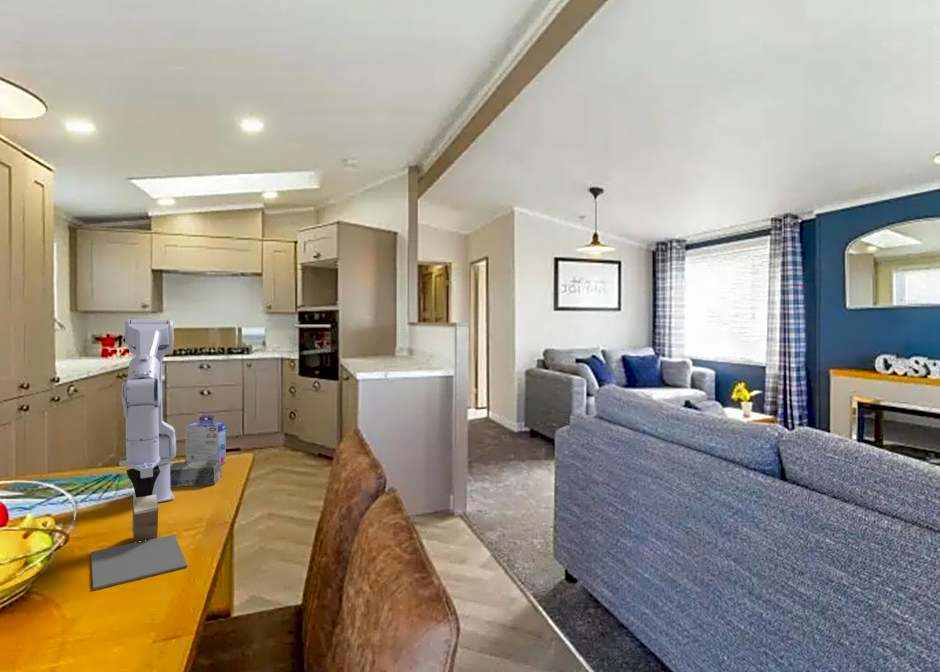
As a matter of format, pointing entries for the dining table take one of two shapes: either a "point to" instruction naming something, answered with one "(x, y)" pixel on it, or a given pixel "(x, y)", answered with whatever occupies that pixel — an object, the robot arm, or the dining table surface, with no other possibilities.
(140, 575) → the mat
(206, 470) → the stone block
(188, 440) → the ink cartridge box
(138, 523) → the walnut block
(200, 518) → the dining table surface
